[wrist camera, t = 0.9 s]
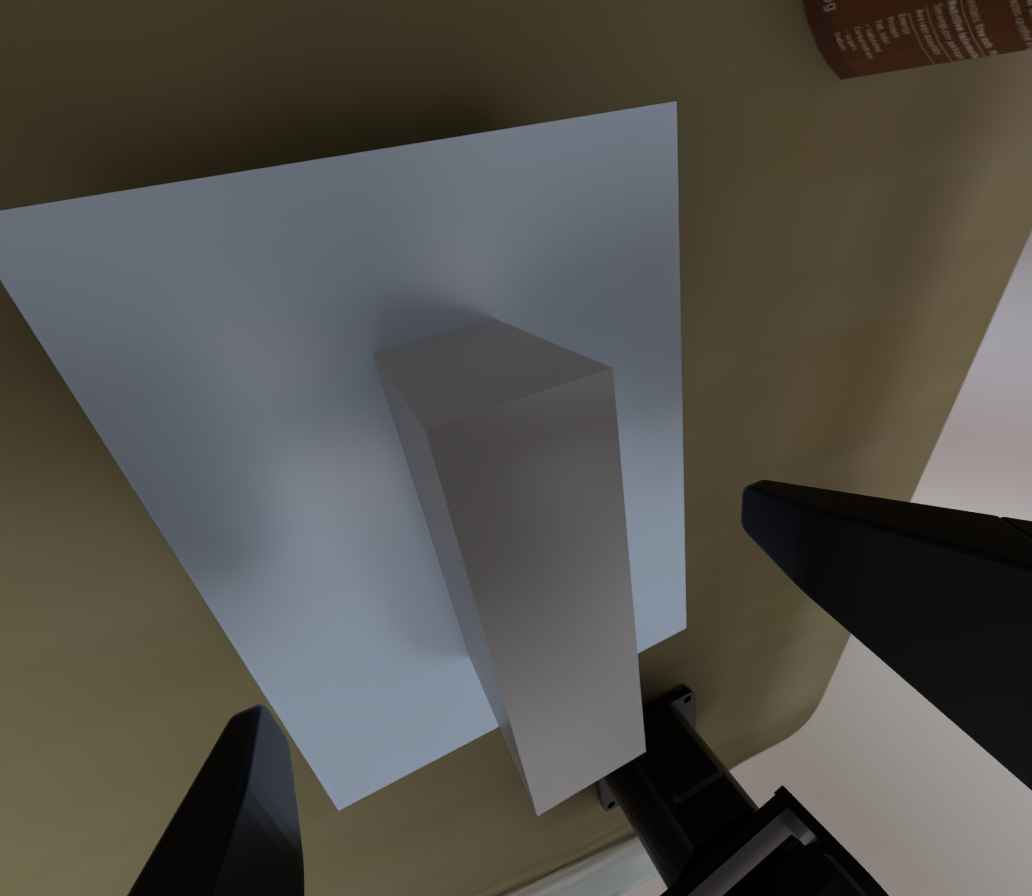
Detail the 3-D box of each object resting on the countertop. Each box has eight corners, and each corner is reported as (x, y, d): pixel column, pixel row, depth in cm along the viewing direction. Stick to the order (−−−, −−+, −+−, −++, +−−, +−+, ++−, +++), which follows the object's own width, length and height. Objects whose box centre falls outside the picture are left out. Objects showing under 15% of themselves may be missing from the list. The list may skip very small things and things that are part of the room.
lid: (647, 589, 17) (795, 737, 12) (332, 742, 14) (357, 1021, 9) (616, 121, 11) (901, 25, 6) (30, 220, 8) (-434, 199, 3)
